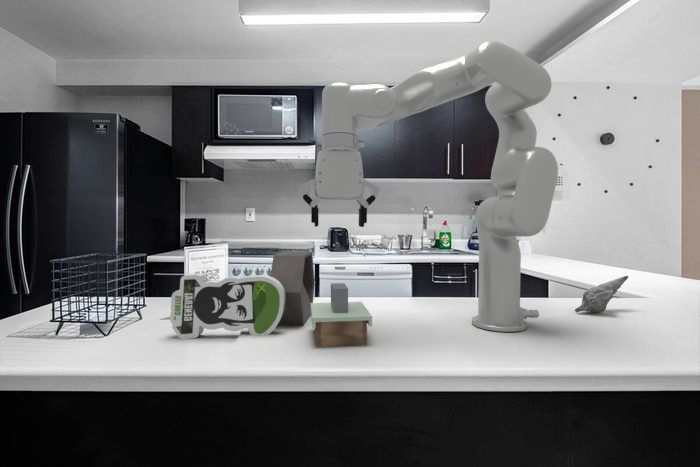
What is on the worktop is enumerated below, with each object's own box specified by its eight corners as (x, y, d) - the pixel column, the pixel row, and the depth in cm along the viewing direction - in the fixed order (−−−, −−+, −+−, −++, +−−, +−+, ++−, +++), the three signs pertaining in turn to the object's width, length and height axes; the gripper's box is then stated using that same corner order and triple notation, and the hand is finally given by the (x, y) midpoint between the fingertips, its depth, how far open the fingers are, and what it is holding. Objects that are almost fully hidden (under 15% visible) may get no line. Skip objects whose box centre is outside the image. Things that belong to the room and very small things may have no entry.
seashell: (564, 309, 112) (565, 274, 112) (623, 309, 112) (624, 275, 112) (585, 318, 102) (585, 280, 102) (649, 318, 102) (650, 280, 102)
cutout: (165, 276, 84) (281, 267, 84) (171, 275, 87) (283, 266, 87) (172, 345, 85) (286, 336, 85) (178, 341, 87) (288, 332, 88)
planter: (297, 315, 86) (307, 235, 96) (263, 315, 86) (276, 235, 97) (309, 337, 100) (316, 266, 111) (280, 337, 101) (290, 265, 111)
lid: (361, 310, 91) (361, 280, 90) (372, 326, 77) (372, 291, 77) (310, 311, 89) (310, 281, 89) (312, 328, 76) (312, 292, 75)
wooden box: (358, 331, 90) (358, 306, 90) (366, 348, 78) (366, 319, 78) (314, 333, 89) (314, 307, 88) (317, 350, 77) (316, 320, 76)
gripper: (376, 150, 87) (375, 226, 87) (298, 147, 84) (298, 226, 85) (383, 143, 79) (382, 227, 80) (298, 140, 77) (297, 226, 78)
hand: (339, 226), depth 82 cm, fingers open, 9 cm apart
